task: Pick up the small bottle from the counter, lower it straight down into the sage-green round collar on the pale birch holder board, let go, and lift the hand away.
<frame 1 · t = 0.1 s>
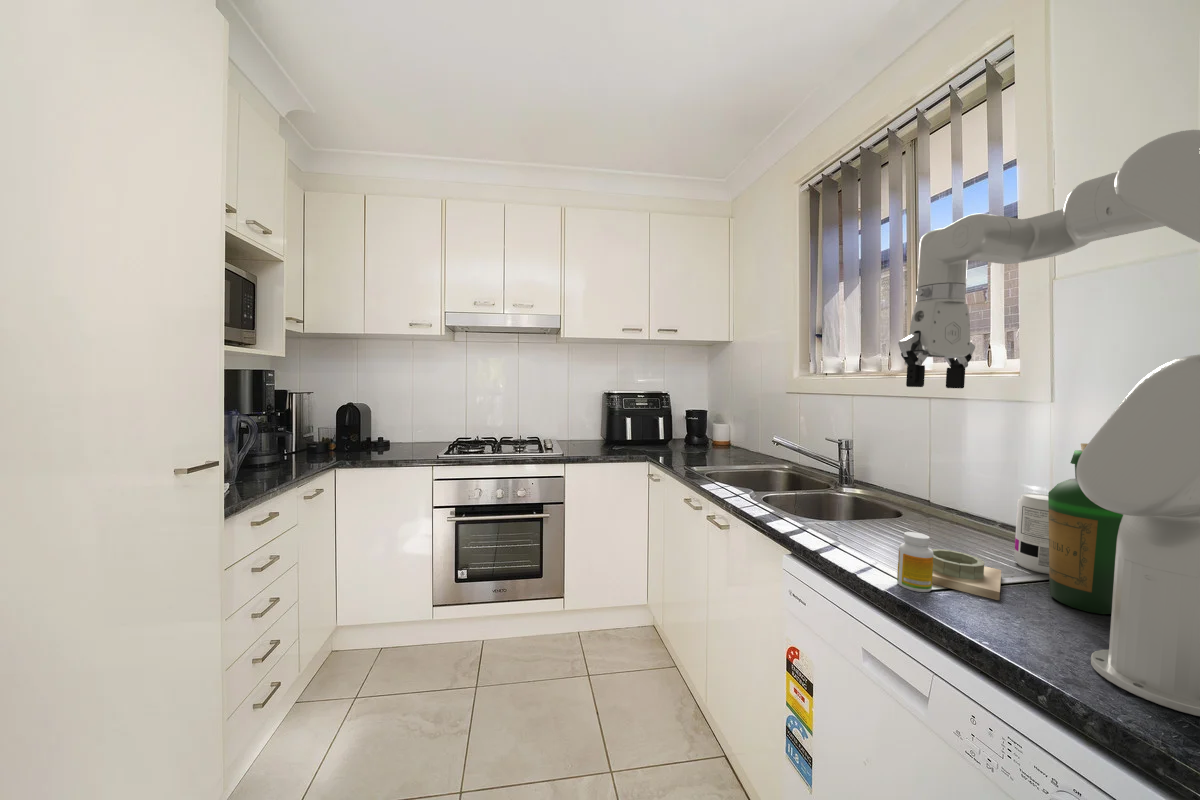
hand: (935, 387, 89), 37 cm above the countertop, tool pointing down, fingers open, 9 cm apart
bottle: (1083, 605, 82), on the countertop
supplement can: (1039, 568, 98), on the countertop
collar holder: (953, 577, 92), on the countertop
supplement bottle: (914, 587, 87), on the countertop
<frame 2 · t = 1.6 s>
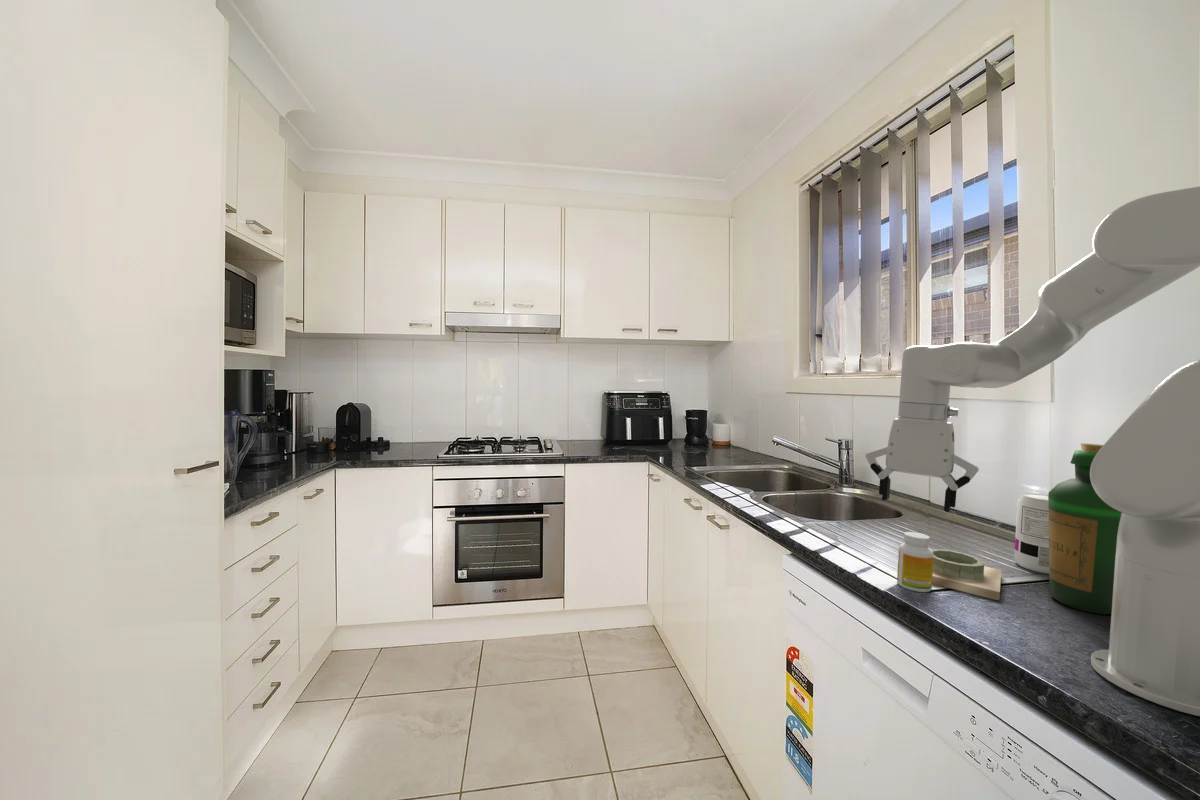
hand: (915, 504, 87), 15 cm above the countertop, tool pointing down, fingers open, 9 cm apart
nothing on the countertop moved.
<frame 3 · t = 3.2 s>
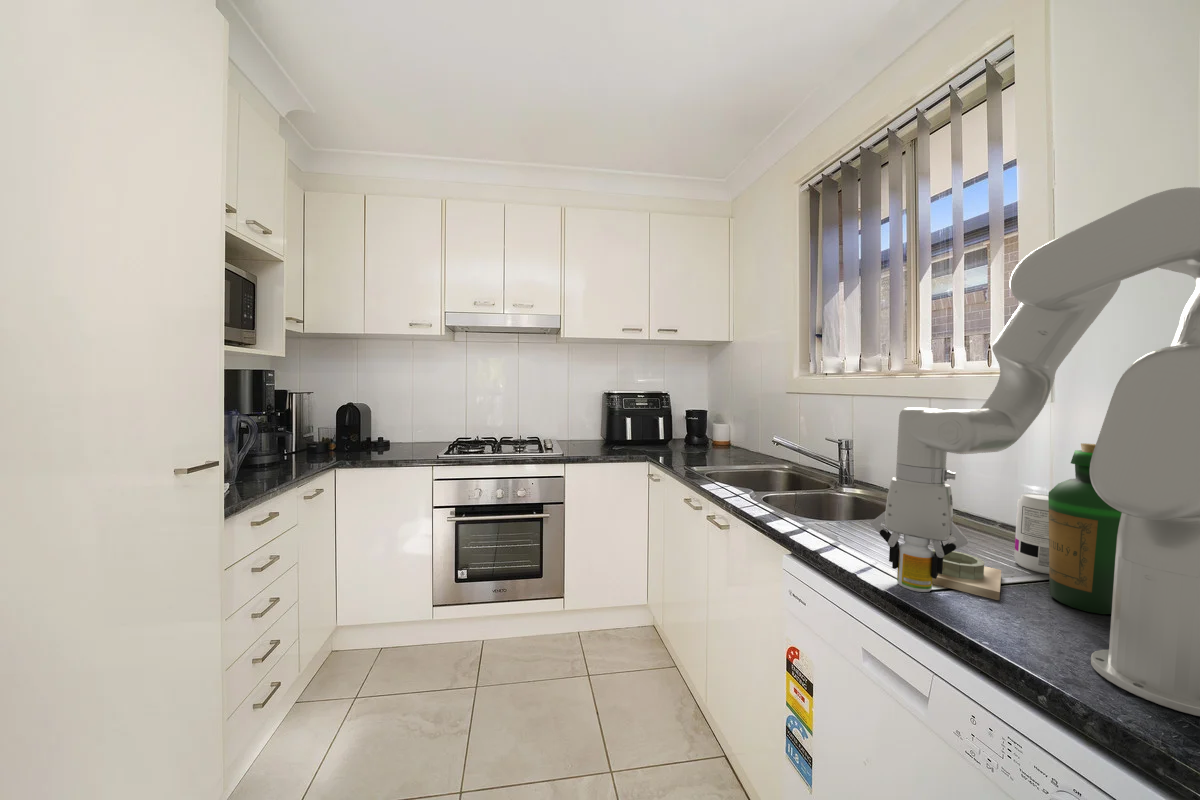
hand: (914, 570, 87), 3 cm above the countertop, tool pointing down, fingers closed on supplement bottle, 5 cm apart
supplement bottle: (914, 587, 87), on the countertop, touching gripper
everything else where it was.
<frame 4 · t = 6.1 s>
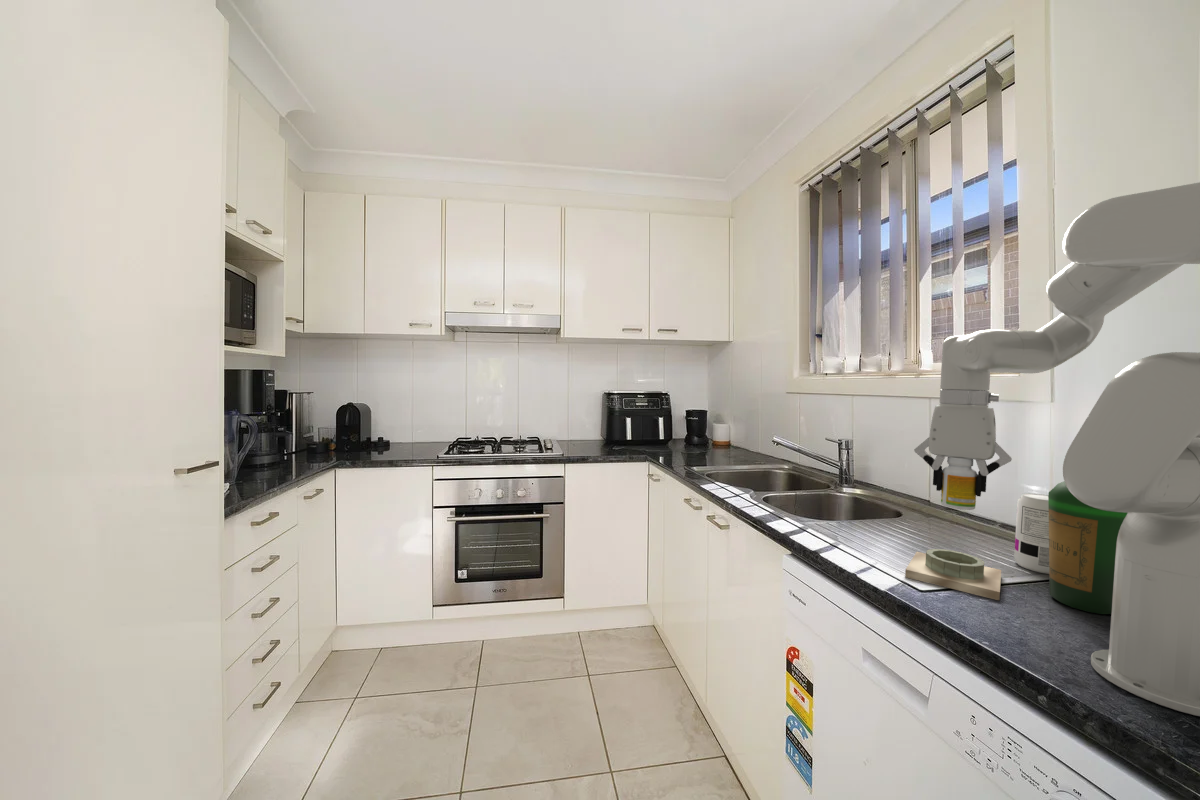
hand: (958, 491, 91), 17 cm above the countertop, tool pointing down, fingers closed on supplement bottle, 5 cm apart
supplement bottle: (957, 507, 92), point 14 cm above the countertop, touching gripper
everything else where it was.
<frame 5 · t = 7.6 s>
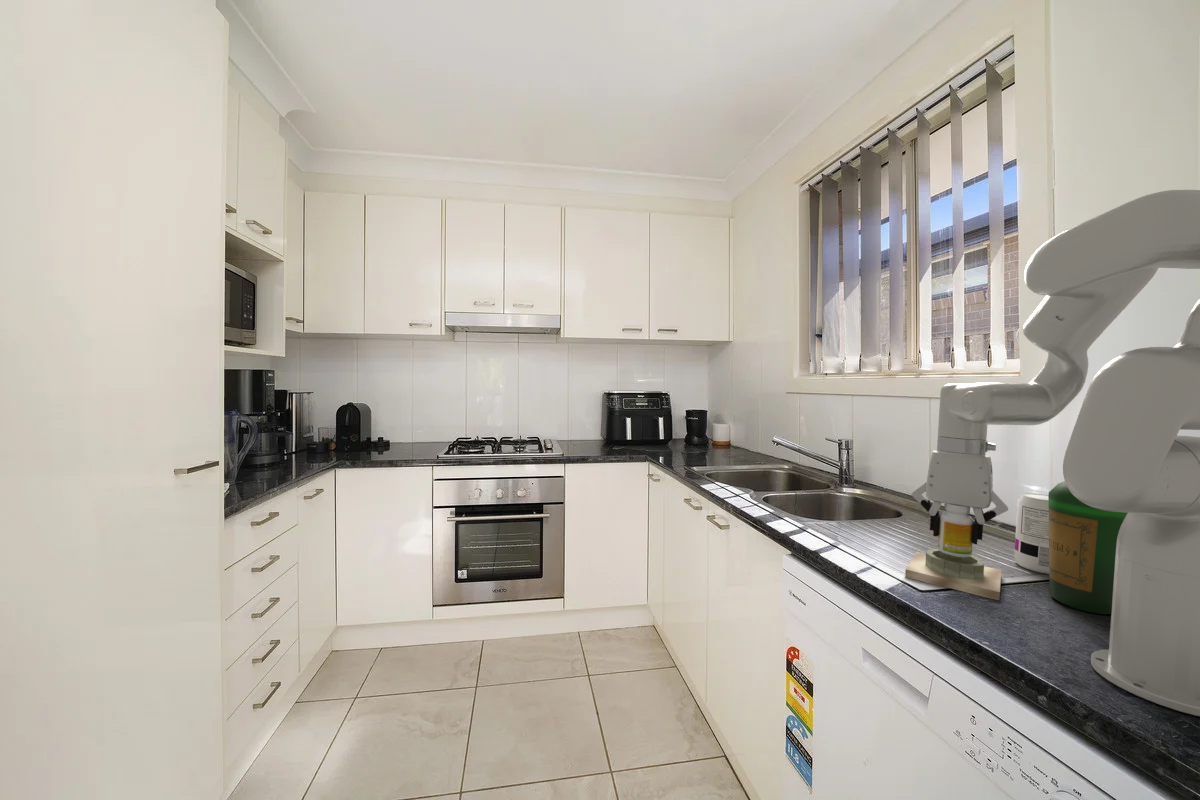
hand: (955, 537, 92), 8 cm above the countertop, tool pointing down, fingers closed on supplement bottle, 5 cm apart
supplement bottle: (954, 553, 92), point 5 cm above the countertop, touching gripper
everything else where it was.
when the fingers open (6 cm above the countertop, at t = 8.9 s): supplement bottle drops 1 cm, resting on collar holder.
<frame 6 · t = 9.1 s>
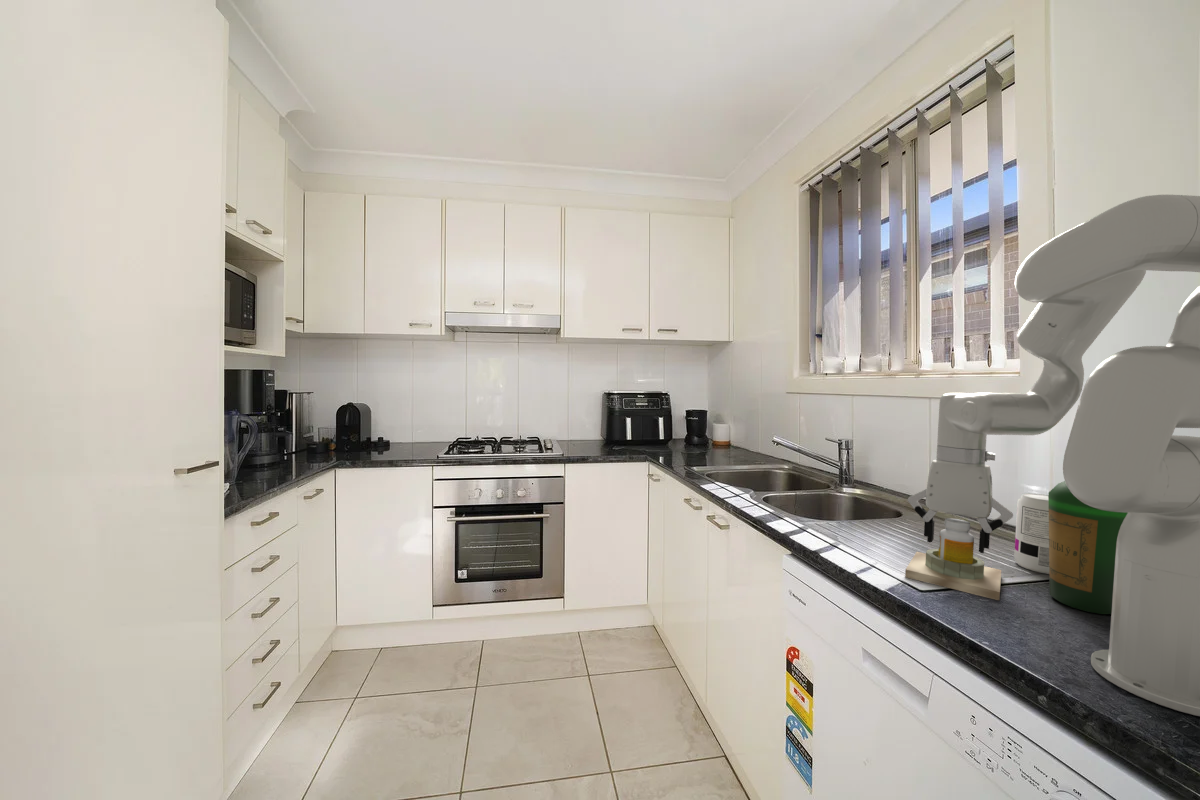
hand: (955, 545, 92), 6 cm above the countertop, tool pointing down, fingers open, 7 cm apart
supplement bottle: (954, 571, 92), point 1 cm above the countertop, touching collar holder
everything else where it was.
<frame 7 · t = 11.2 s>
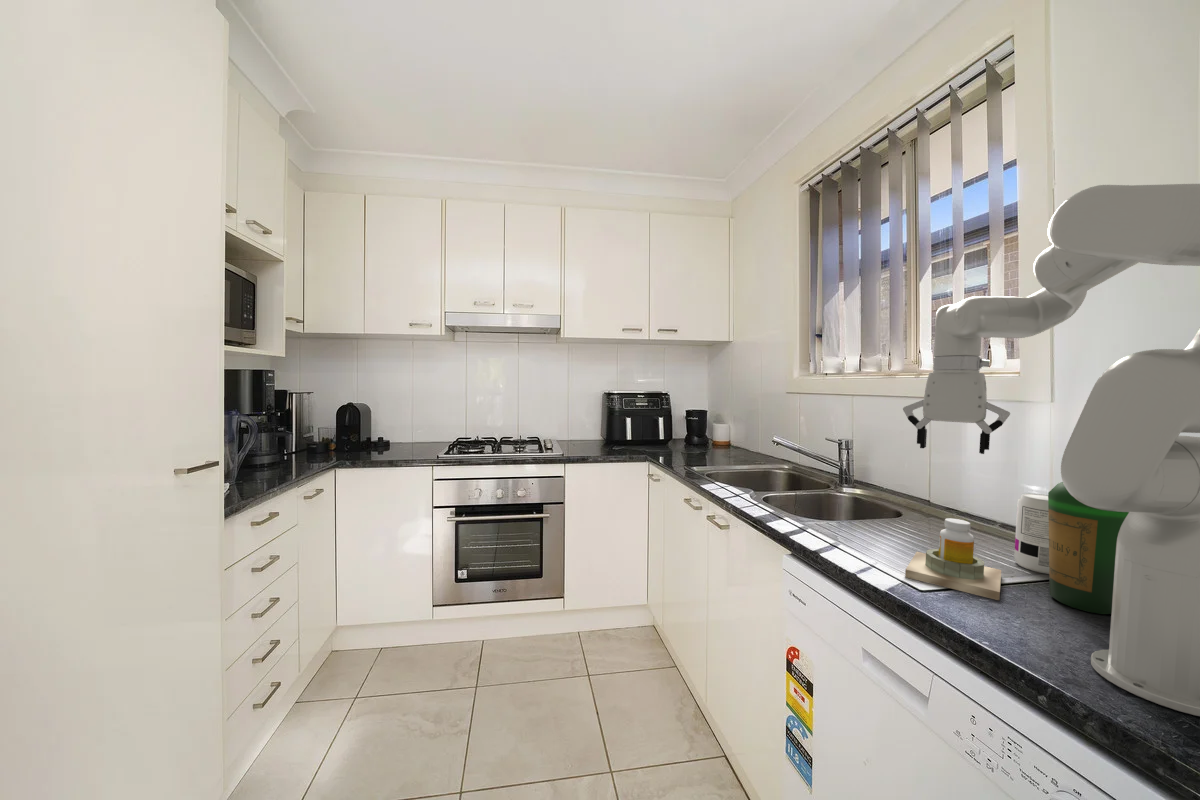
hand: (951, 450, 95), 24 cm above the countertop, tool pointing down, fingers open, 9 cm apart
nothing on the countertop moved.
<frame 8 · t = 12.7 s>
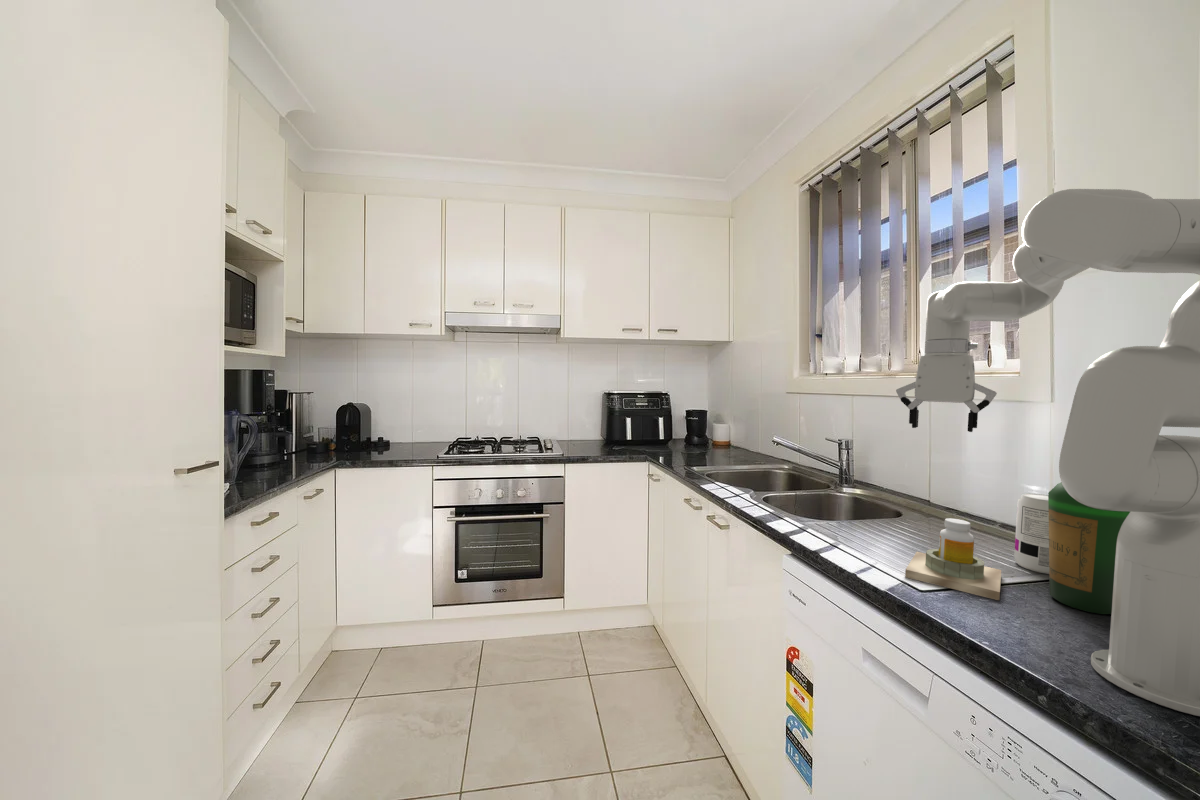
hand: (941, 429, 100), 28 cm above the countertop, tool pointing down, fingers open, 9 cm apart
nothing on the countertop moved.
at the end: supplement bottle 0.2 cm off-centre on the collar holder, point 1.3 cm above the collar holder's base; supplement bottle tilted 0°; the gripper is holding nothing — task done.
